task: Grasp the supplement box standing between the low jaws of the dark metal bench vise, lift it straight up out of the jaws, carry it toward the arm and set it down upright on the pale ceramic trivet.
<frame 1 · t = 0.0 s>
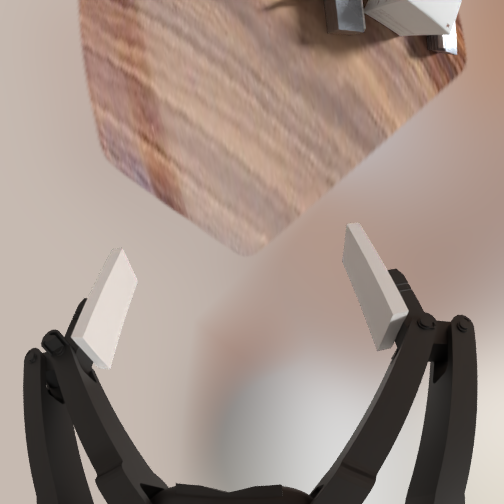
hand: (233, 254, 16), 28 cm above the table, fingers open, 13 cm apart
vise: (388, 8, 24), on the table
supplement box: (388, 8, 24), on the table
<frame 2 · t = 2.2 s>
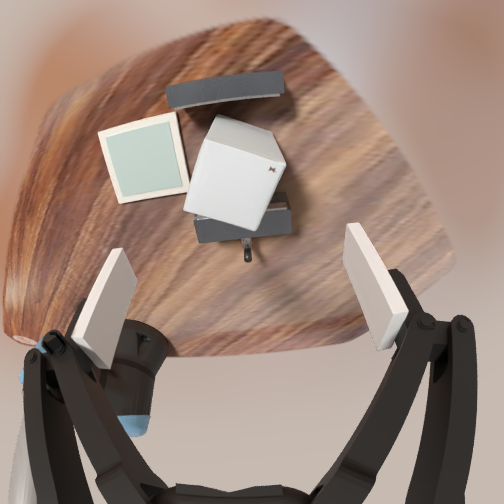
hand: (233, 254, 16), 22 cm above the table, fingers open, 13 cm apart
vise: (234, 147, 33), on the table
supplement box: (234, 147, 33), on the table
trivet: (144, 159, 33), on the table
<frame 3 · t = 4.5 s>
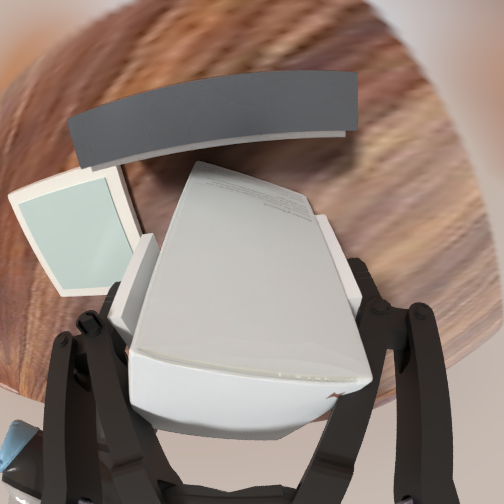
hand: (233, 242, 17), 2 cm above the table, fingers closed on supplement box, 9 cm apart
vise: (234, 223, 18), on the table
supplement box: (234, 222, 19), on the table, touching gripper
trivet: (80, 238, 18), on the table
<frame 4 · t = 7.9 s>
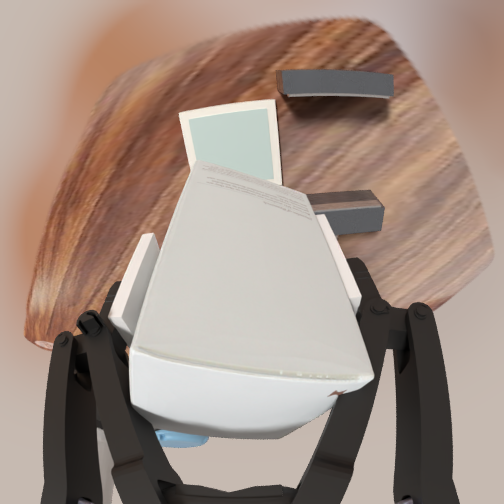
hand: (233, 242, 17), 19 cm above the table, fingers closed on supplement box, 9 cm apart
vise: (330, 143, 32), on the table
supplement box: (234, 221, 19), point 17 cm above the table, touching gripper
trivet: (232, 147, 32), on the table
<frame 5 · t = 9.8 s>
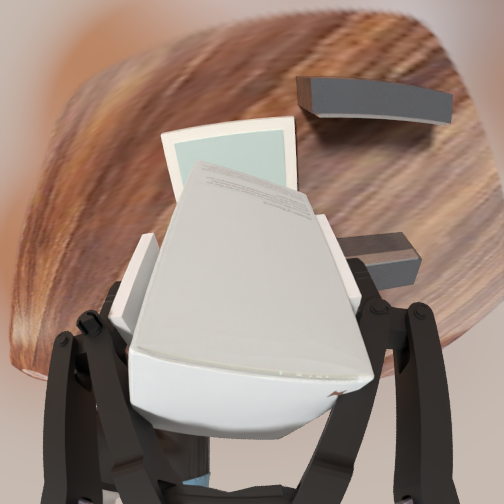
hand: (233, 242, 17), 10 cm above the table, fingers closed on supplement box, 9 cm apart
vise: (361, 176, 24), on the table
supplement box: (234, 221, 19), point 7 cm above the table, touching gripper
trivet: (234, 181, 24), on the table
when the fingers open (4 cm above the table, at t = 11.3 s): supplement box drops 1 cm, resting on trivet.
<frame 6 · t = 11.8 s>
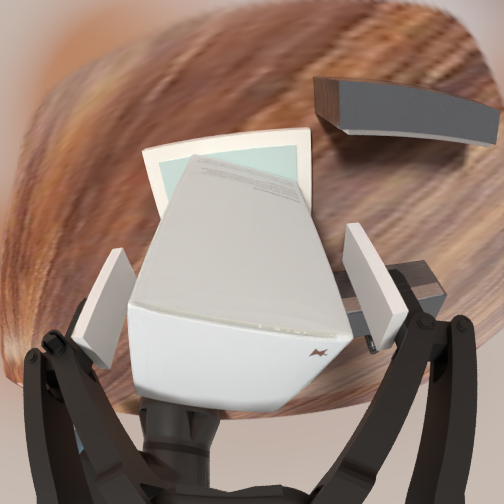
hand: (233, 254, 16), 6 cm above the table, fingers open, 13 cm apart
vise: (386, 200, 20), on the table
supplement box: (231, 209, 20), point 1 cm above the table, touching trivet
trivet: (234, 207, 20), on the table
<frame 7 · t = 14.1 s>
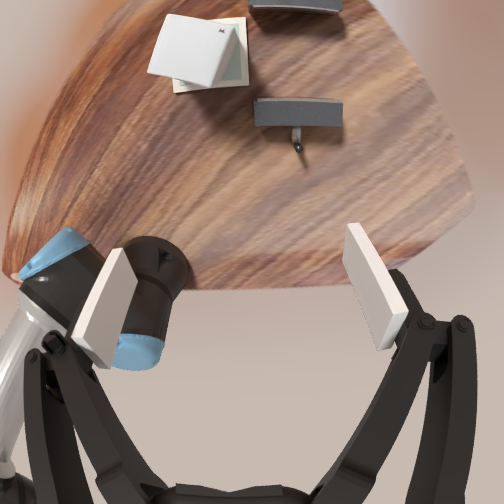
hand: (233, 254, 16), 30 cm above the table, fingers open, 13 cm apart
vise: (293, 53, 32), on the table
supplement box: (206, 53, 31), point 1 cm above the table, touching trivet
trivet: (208, 53, 32), on the table
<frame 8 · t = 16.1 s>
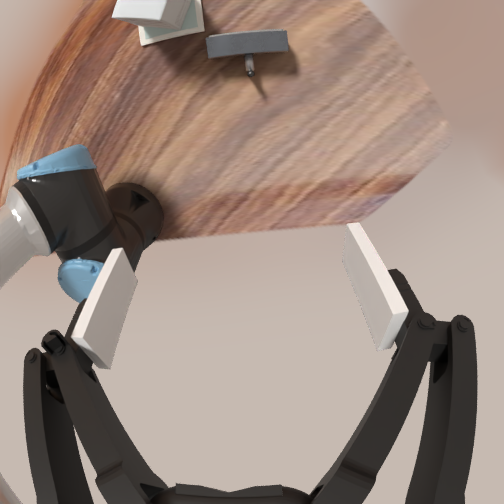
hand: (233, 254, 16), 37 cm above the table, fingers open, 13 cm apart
vise: (241, 1, 31), on the table
supplement box: (167, 10, 30), point 1 cm above the table, touching trivet
trivet: (169, 11, 31), on the table
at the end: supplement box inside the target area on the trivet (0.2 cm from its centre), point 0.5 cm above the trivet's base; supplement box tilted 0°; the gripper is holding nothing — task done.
